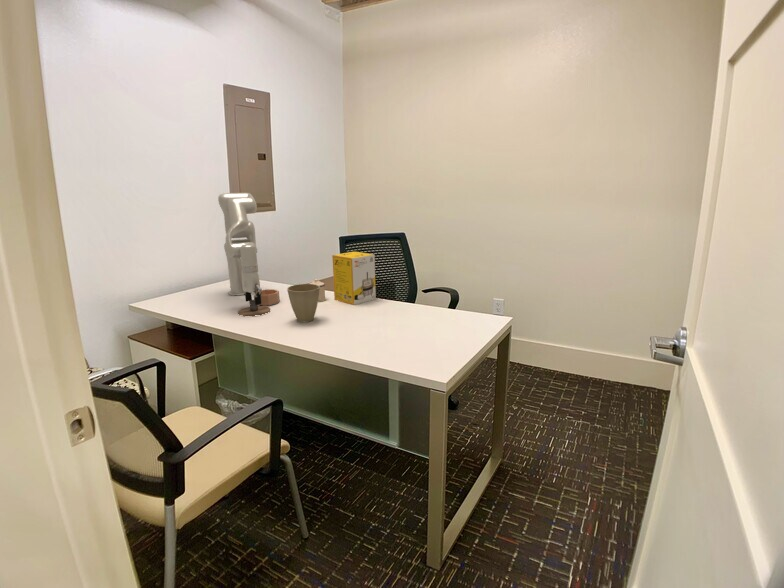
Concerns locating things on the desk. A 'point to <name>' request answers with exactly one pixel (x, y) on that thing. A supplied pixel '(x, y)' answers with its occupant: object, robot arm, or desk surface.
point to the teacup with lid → (321, 290)
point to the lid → (253, 309)
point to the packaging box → (354, 277)
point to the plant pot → (304, 300)
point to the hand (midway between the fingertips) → (253, 302)
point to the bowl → (269, 297)
